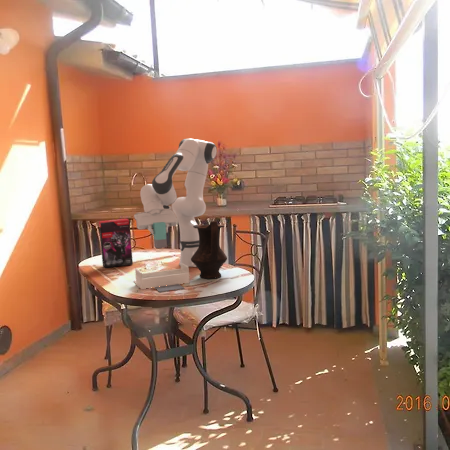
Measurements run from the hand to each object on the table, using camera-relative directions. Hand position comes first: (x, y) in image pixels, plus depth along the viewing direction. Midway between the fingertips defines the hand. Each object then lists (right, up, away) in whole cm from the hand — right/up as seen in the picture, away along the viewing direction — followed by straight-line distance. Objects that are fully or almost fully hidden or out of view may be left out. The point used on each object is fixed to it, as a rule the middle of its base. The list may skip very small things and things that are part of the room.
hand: (160, 233), depth 245 cm
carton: (0, -25, +7) cm, 25 cm away
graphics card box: (-32, -20, +52) cm, 64 cm away
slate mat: (+5, -26, -7) cm, 28 cm away
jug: (+24, -23, +12) cm, 36 cm away
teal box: (0, -7, +1) cm, 7 cm away
